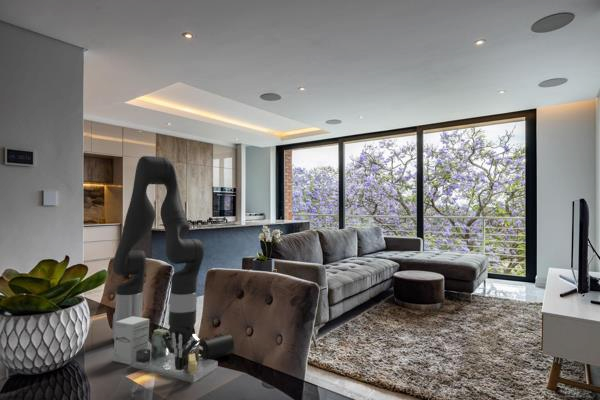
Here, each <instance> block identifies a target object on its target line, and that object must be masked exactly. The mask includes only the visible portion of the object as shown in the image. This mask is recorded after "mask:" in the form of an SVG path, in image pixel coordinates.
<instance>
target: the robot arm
mask: <svg viewBox="0 0 600 400" xmlns="http://www.w3.org/2000/svg"><path fill="white" fill-rule="evenodd" d="M135 168H136V169H135V174H134V178H133V185H132V186H133V187H132V193H131V197H130V202H129V205H128V209H127V212H126V215H125V217H124V218H125V219H124V224H123V228H122V232H121V237H120V240H119V243H118V246H117V249H116V252H115V254H114V257H113V261H112V271H113V273H114V274H115V276H130V275H131V276H132V277H130V278H129V279H128V280H127V281H125V282H122V283H120V284H118V285H117V286H116V290H115V291H116V292H115V309H114V310H115V311H114V312H113V314H112V315H113V316H112V331H111V339H112V338H113V341H114V342H115V327H116V322H117V321H119V320H123V319H126V318H129V317H132V316H134V317H140V318H143V302H144V301H143V297H144V295H143V294H144V285H145V275H146V274H145V272H146V265H147V257H146V253H145V251H144V250H141V249H140V250H139V249H138V250H136V249H135V250H132V249H133V248H134V247H135V246H137V244H138V243H140V242H141V241H142V240H143V239H144V238H146V237H147V236H148V235H149V234H150V232H151V231H152V229H153V225H154V223H155V220H156V211H155V208H154V206H153V204H152V202H151V201H150V199H149V197H148V193H147V189H148V187H149V185H159V186H160V185H164V186H165V188H166V193H165V197H164V199H163V201H162V204H161V205H160V206H161V207H160V211H159V212H160V218H161V219H160V220H161V222H162V225H163V228H164V231H165V256H166V258H167V260H168V261H169V262H170V263H172V264H175V265H181V264H185V265H184V267H183V268H182V269H180V270H178V271H176V272H174V273H173V274H172V276H171V283H170V284H171V286H170V297H169V301H168V302H169V305H168V326H169V328H168V332H167V333H165V334H163V335H162V337H163V339H164V341H165V344H166V346H167V348H168V350H169V352H170V353H173V354H174V356H175V367H176V370H182V369H184V368H185V366H186V356H188V355H189V354H192V353H193V351H194V350H195V349H196V347H197V346H199V343H200V342H201V339H202V337H198V336H197V335H196V328H195V325H196V322H197V307H198V306H197V305H198V302H197V301H198V300H197V298H198V297H197V279H198V275H199V272H200V268H201V265H202V263H203V259H204V255H205V247H204V244H203V243H202V241H201V240H200V239H198V238H182V237H184V236H187V234H188V233H189V232H190V224H189V221H188V218H187V216H186V212H185V210H184V206H183V203H182V200H181V199H182V198H181V192H180V188H179V182H178V176H177V172H176V167H175V165H174V162H173V161H172V160H171V158H168V157H166V156H165V157H161V156H154V155H153V156H149V155H143V156H141V157H140V158H139V159H138V161H137V164H136V167H135Z"/></svg>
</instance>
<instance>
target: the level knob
mask: <svg viewBox="0 0 600 400" xmlns="http://www.w3.org/2000/svg"><path fill="white" fill-rule="evenodd" d="M199 349H200V346H199V345H198V346H197V347H196V349H195V350H194V351H193V353H192V354H189V355H188V356H186V364H188V371H190V372H193V371H196V370H197V362H198V360H199V356H200V354H199Z"/></svg>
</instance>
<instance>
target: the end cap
mask: <svg viewBox="0 0 600 400" xmlns="http://www.w3.org/2000/svg"><path fill="white" fill-rule="evenodd" d="M213 337H214V338H213ZM213 337H212V338H209V337H203V338H202V337H201V342H200V343H199V345H198V346H199V347H201V348H202V349H201V348H199V357H202V358H206V359H211V360H215V359H216V360H217V359H219V358H221V357H224V356H228V355H230V354H231V353H232V352H233V351H234V349H235V342H234V341H235V340H234V338H233V336H232V335H231V334H230V333H228V334H223V333H218V334H215V335H213Z"/></svg>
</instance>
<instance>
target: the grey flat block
mask: <svg viewBox="0 0 600 400" xmlns="http://www.w3.org/2000/svg"><path fill="white" fill-rule="evenodd" d="M168 331H169V329H168V330H167V329H162V328H157V329H154V330H153V333H152V334H151V345H150V346H151V347H150V349H149V348H148V349H141V350H138V351H137V352H136V359H133V360H132V364H131V365H130V366H131V368H134V369H138V370H142V371H146V372H150V373H153V374H157V375H162V376H164V377H169V378H174V379H177V380H180V381H185V382H188V383H191V384H194V383H196V382H197V381H199V380H200V379H203V378H204V377H205V376H207V375H208V374H210V373H212V372H213V371H214V370H216V369H218V364H219V361H218V360H215V359H213V360H211V359H206V358H202V357H199V360H198V362H197V370H196V371H193V372H190V371H188V364H186V366H185V368H184V369H182V370H176V367H175V356H174V354H173V353H170V352H169V350H168V348H167V346H166V344H165V341H164V339H163V337H162V335H163V334H165V333H167V332H168Z"/></svg>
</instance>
